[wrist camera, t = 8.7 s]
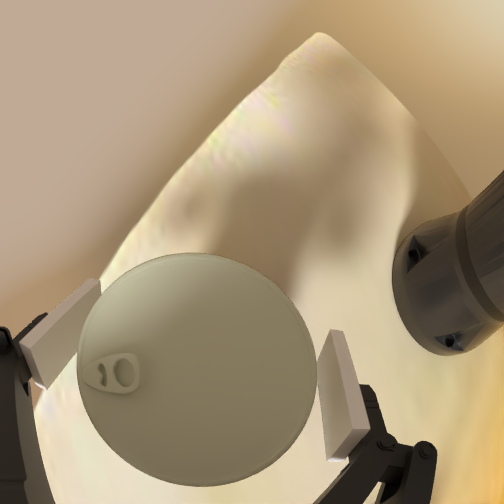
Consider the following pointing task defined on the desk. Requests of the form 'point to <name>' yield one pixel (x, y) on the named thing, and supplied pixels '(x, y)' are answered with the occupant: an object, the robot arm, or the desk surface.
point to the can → (196, 369)
